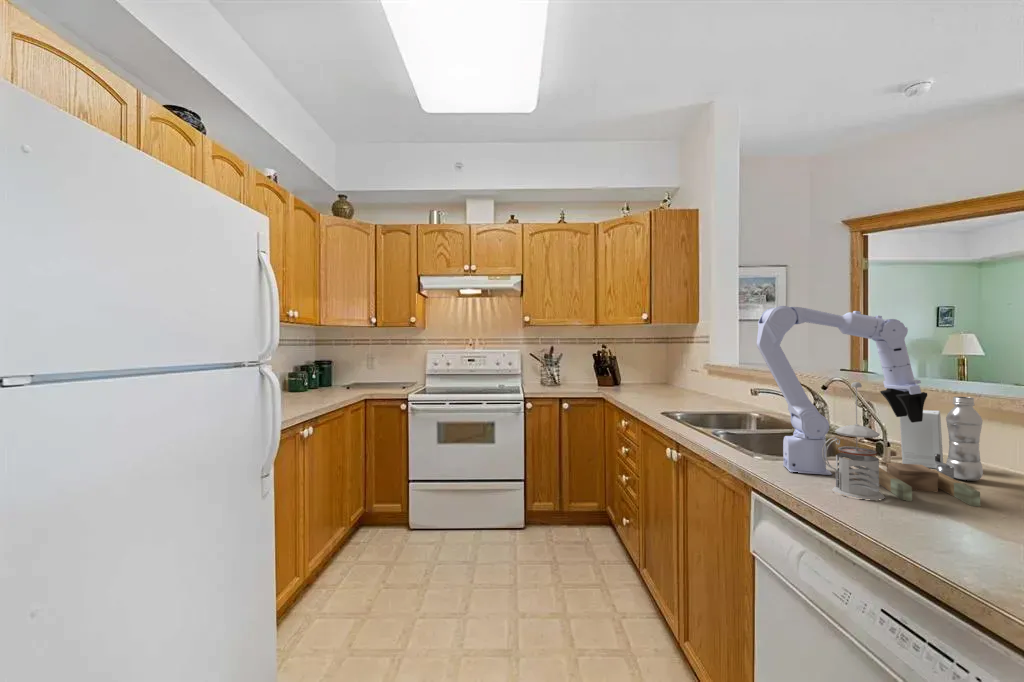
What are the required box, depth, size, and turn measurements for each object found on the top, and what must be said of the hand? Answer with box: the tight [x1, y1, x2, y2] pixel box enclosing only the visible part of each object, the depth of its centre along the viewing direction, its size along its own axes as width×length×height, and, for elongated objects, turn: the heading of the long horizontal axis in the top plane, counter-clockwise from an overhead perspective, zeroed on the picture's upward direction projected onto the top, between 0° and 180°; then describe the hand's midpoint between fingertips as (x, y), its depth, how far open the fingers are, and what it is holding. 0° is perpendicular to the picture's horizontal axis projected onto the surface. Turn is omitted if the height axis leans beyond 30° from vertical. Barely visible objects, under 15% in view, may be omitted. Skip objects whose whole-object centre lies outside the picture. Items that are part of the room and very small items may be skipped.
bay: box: [879, 467, 981, 507], centre depth 107 cm, size 13×18×3 cm
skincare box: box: [899, 409, 944, 470], centre depth 128 cm, size 8×6×15 cm
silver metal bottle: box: [945, 396, 984, 482], centre depth 114 cm, size 6×7×20 cm
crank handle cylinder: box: [935, 454, 955, 479], centre depth 112 cm, size 3×5×6 cm, turn 162°
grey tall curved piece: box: [822, 381, 886, 500], centre depth 105 cm, size 10×12×25 cm
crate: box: [885, 462, 939, 493], centre depth 110 cm, size 7×7×4 cm
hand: (908, 419), depth 118 cm, fingers open, 7 cm apart
